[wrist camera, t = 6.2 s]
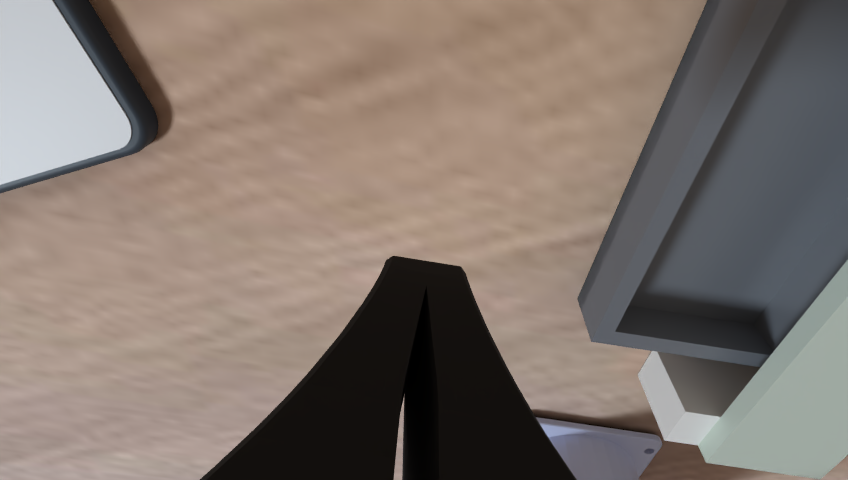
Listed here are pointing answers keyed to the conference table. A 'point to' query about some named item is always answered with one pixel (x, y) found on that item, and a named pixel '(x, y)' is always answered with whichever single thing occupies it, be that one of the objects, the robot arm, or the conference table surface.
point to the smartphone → (64, 93)
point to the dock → (764, 397)
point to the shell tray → (733, 189)
